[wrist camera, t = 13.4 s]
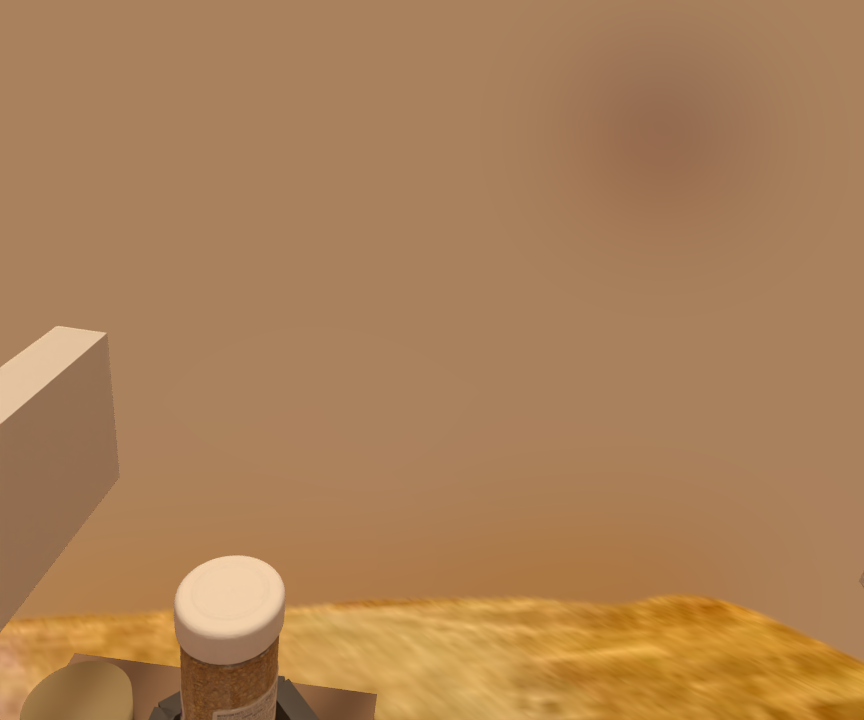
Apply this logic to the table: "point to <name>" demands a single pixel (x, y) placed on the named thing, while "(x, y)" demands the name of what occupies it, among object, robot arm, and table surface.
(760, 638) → the table surface
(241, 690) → the sprinkles bottle
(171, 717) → the carrier board
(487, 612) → the table surface
